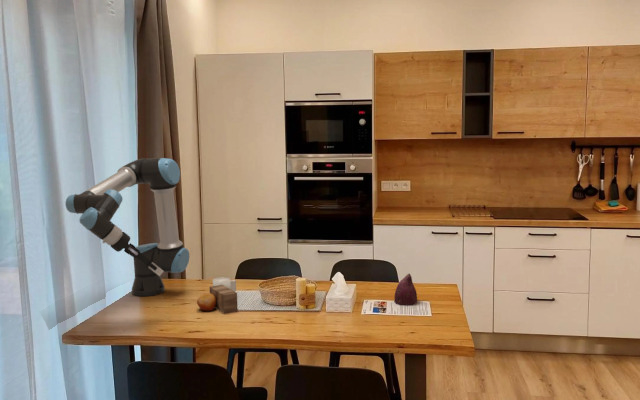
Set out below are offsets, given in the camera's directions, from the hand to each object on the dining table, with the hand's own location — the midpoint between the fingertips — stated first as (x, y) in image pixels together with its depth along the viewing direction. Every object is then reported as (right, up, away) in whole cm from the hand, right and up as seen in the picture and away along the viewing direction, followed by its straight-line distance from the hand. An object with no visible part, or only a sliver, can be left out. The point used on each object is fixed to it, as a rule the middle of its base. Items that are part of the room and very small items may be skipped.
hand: (161, 273), depth 240 cm
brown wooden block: (+23, -17, +15) cm, 32 cm away
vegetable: (+103, -15, +18) cm, 105 cm away
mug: (+21, -15, +29) cm, 39 cm away
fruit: (+17, -17, +12) cm, 27 cm away
